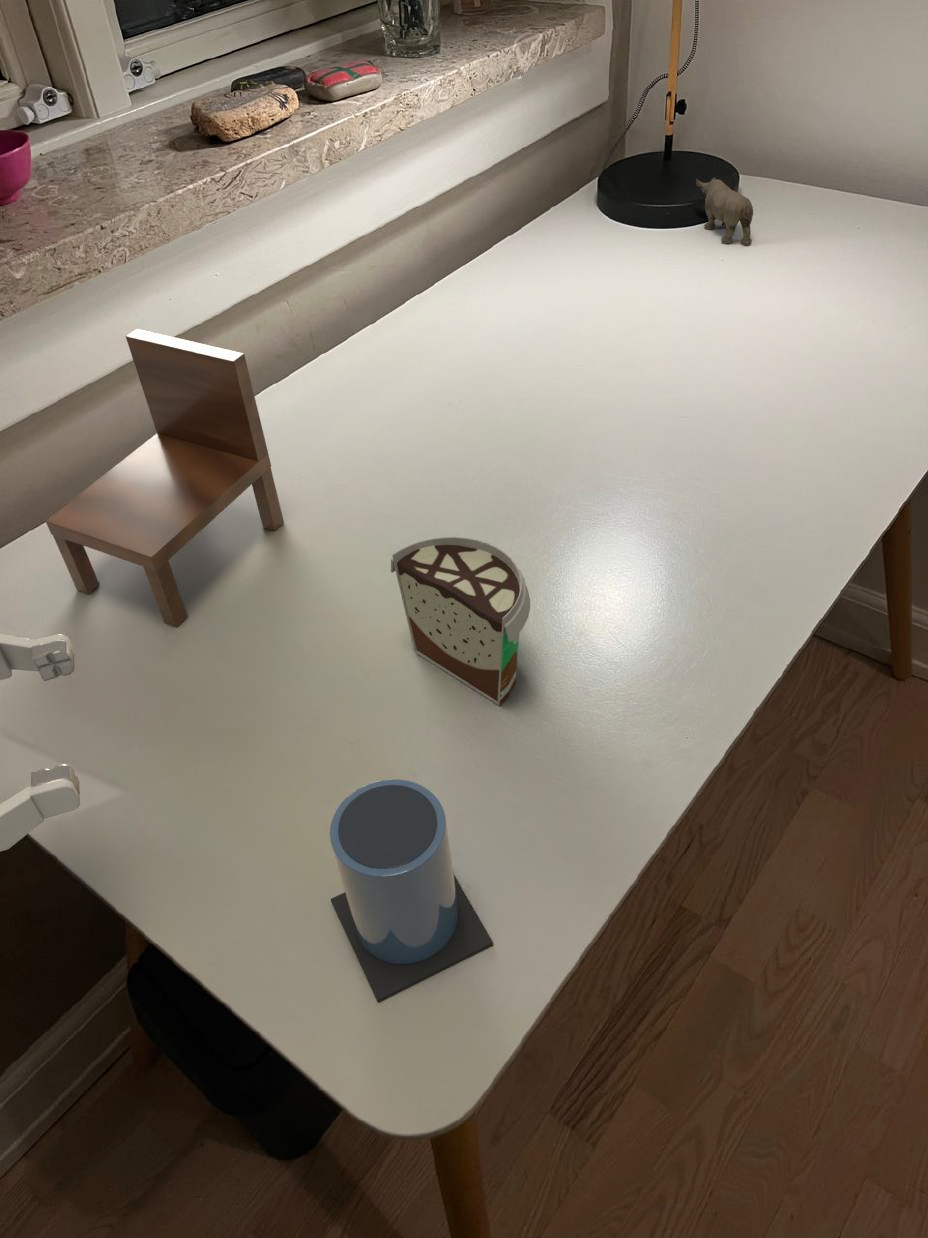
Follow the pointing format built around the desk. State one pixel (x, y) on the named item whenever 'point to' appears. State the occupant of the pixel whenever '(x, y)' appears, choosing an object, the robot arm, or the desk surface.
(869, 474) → the desk surface
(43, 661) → the robot arm
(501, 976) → the desk surface
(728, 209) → the rhino figurine
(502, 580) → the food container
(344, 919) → the mat
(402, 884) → the cup
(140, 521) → the miniature wooden chair
